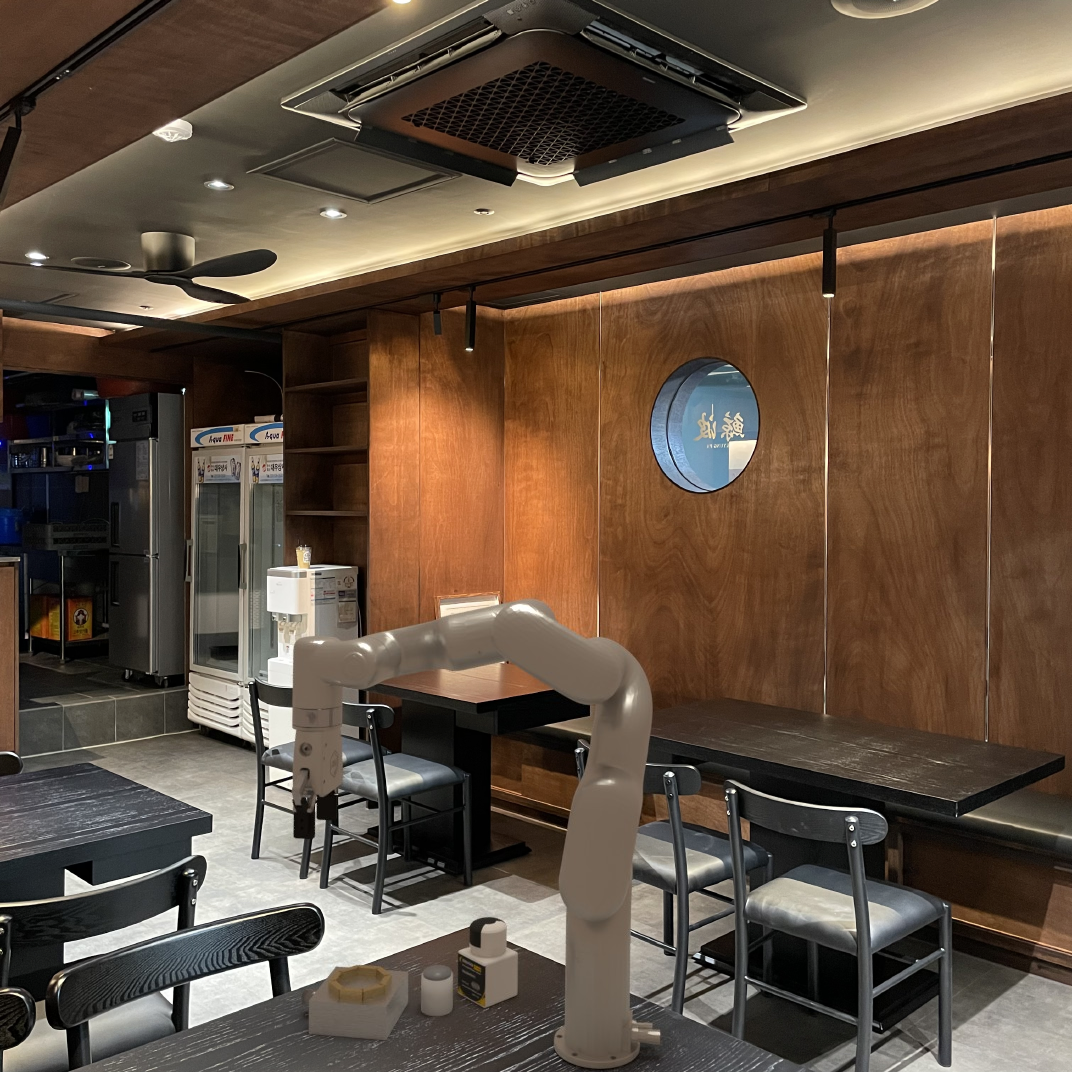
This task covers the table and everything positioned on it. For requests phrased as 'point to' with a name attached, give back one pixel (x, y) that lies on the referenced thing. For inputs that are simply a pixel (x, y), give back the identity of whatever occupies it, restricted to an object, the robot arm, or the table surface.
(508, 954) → the medicine bottle
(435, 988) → the short grey cylinder
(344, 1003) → the block
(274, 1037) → the table surface
